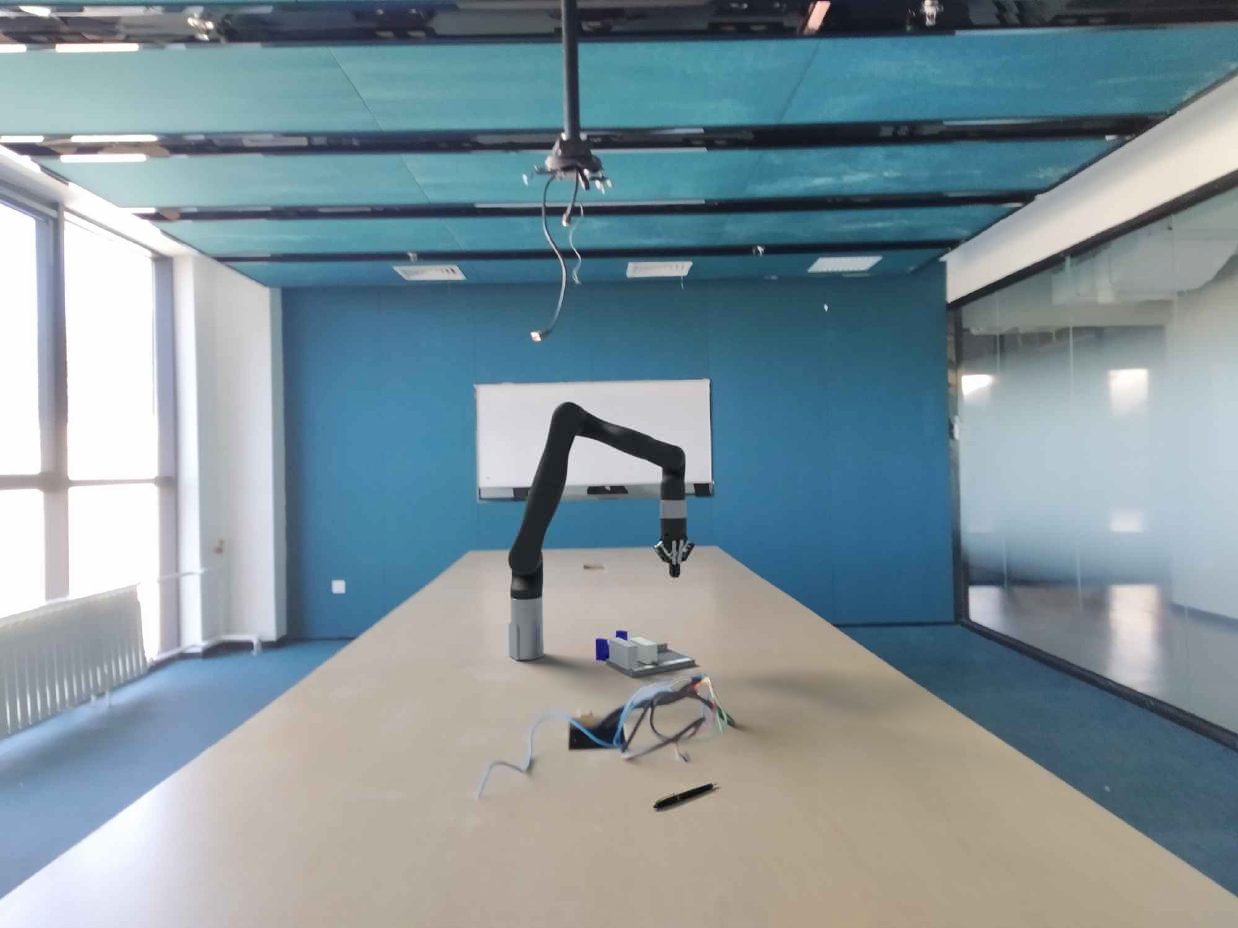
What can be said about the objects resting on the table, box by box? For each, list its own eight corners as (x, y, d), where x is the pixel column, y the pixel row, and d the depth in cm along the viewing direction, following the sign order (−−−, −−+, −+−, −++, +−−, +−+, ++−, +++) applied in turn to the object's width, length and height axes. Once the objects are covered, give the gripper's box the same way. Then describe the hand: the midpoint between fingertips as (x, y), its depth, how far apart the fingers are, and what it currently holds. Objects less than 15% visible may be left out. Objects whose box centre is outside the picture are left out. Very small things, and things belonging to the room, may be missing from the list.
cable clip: (615, 649, 211) (614, 629, 211) (627, 651, 209) (627, 631, 209) (591, 659, 201) (591, 638, 201) (604, 661, 199) (604, 640, 199)
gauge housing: (631, 677, 183) (631, 648, 183) (606, 664, 195) (605, 637, 195) (695, 665, 193) (694, 637, 193) (666, 653, 205) (666, 627, 205)
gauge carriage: (651, 666, 186) (651, 647, 186) (629, 656, 196) (629, 638, 196) (664, 664, 188) (664, 645, 188) (641, 654, 198) (641, 636, 198)
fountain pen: (716, 785, 123) (716, 776, 123) (721, 787, 122) (720, 778, 122) (650, 809, 115) (650, 800, 115) (655, 812, 114) (654, 803, 114)
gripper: (685, 513, 206) (686, 573, 206) (646, 516, 199) (647, 577, 200) (700, 515, 199) (701, 576, 199) (660, 518, 193) (662, 581, 193)
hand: (674, 577), depth 199 cm, fingers closed
